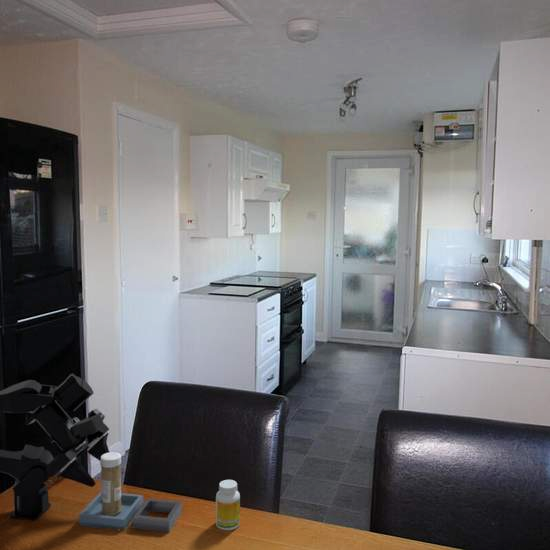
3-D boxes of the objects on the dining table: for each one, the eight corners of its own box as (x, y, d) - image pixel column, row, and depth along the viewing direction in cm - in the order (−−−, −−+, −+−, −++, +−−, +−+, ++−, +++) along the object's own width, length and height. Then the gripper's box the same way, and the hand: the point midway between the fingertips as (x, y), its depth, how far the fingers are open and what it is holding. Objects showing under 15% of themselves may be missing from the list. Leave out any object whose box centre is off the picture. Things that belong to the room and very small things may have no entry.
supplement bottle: (213, 520, 122) (213, 479, 121) (236, 516, 124) (236, 476, 123) (219, 533, 117) (219, 491, 116) (242, 528, 118) (243, 487, 118)
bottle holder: (132, 528, 118) (132, 517, 118) (147, 508, 126) (147, 498, 126) (169, 532, 117) (169, 521, 116) (181, 511, 125) (181, 501, 125)
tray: (79, 525, 119) (78, 514, 118) (101, 501, 129) (101, 491, 129) (124, 530, 117) (124, 519, 117) (143, 505, 127) (143, 495, 127)
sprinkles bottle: (124, 513, 122) (123, 456, 121) (104, 519, 120) (103, 461, 119) (118, 504, 126) (117, 449, 125) (98, 509, 124) (97, 453, 122)
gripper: (58, 417, 112) (107, 473, 111) (101, 390, 130) (144, 438, 130) (24, 450, 114) (73, 505, 114) (72, 418, 133) (114, 466, 132)
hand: (104, 475), depth 122 cm, fingers open, 9 cm apart
